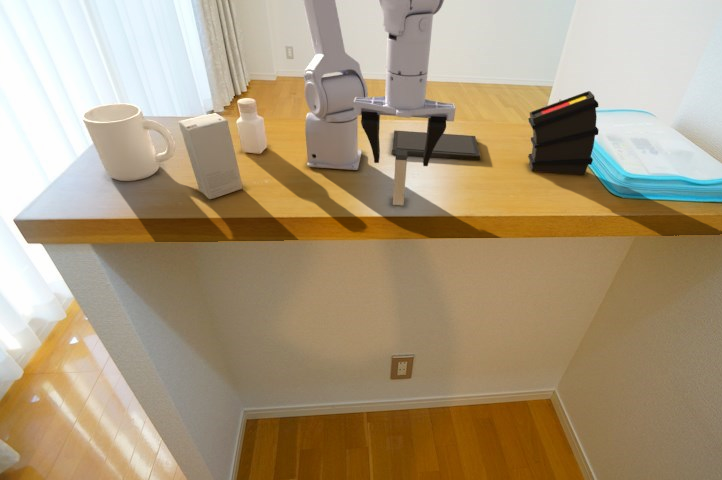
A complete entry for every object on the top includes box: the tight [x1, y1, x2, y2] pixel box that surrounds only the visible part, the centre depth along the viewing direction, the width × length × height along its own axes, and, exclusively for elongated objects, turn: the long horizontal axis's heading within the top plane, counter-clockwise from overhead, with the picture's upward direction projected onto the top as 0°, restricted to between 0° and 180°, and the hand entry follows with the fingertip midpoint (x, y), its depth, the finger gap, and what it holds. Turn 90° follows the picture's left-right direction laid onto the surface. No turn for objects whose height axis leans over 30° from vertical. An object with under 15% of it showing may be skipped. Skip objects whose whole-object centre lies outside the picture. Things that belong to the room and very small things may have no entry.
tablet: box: [391, 129, 481, 161], centre depth 87 cm, size 18×10×1 cm, turn 88°
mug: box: [81, 103, 176, 182], centre depth 70 cm, size 12×8×10 cm
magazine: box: [527, 90, 599, 176], centre depth 79 cm, size 4×13×15 cm, turn 87°
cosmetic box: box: [177, 112, 244, 200], centre depth 66 cm, size 6×4×12 cm
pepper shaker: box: [236, 97, 268, 155], centre depth 79 cm, size 4×4×10 cm
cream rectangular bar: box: [392, 150, 408, 206], centre depth 67 cm, size 2×2×9 cm
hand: (401, 161), depth 65 cm, fingers open, 7 cm apart
